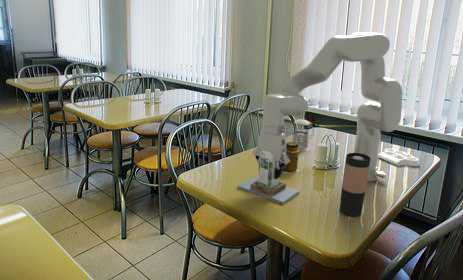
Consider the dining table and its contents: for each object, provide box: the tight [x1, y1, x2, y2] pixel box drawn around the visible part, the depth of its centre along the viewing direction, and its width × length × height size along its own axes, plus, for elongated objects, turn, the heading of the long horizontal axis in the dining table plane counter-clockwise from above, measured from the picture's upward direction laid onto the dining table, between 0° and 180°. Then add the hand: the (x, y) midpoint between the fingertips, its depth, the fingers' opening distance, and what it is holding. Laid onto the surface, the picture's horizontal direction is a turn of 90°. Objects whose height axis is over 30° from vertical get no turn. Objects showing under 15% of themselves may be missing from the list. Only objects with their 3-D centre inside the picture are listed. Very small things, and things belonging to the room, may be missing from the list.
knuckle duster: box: [378, 148, 419, 167], centre depth 176 cm, size 3×18×15 cm
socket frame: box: [250, 180, 287, 196], centre depth 138 cm, size 10×10×2 cm
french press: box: [292, 115, 315, 152], centre depth 185 cm, size 10×12×25 cm
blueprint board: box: [237, 176, 300, 205], centre depth 138 cm, size 20×12×1 cm, turn 52°
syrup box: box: [258, 151, 280, 189], centre depth 136 cm, size 6×6×14 cm
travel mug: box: [339, 152, 371, 218], centre depth 122 cm, size 8×8×20 cm
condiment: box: [281, 141, 302, 175], centre depth 158 cm, size 7×8×12 cm
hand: (269, 175), depth 136 cm, fingers closed on syrup box, 6 cm apart
